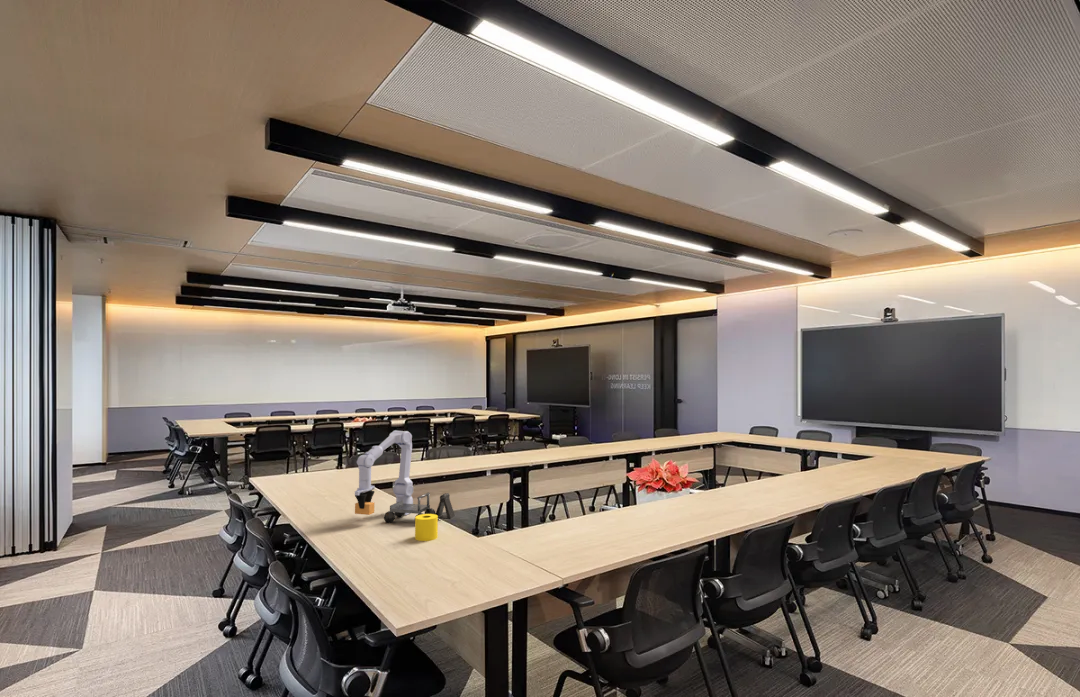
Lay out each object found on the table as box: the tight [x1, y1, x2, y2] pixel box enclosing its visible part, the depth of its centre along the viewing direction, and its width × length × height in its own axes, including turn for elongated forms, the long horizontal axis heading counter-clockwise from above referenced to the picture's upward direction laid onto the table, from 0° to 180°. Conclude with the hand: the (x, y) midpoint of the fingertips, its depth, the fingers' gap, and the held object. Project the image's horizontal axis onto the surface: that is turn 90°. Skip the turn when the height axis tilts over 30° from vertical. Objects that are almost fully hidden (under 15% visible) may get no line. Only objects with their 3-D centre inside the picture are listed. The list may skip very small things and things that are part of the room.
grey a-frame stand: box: [435, 492, 456, 520], centre depth 282 cm, size 9×6×12 cm, turn 78°
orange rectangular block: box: [354, 501, 375, 516], centre depth 269 cm, size 4×8×5 cm, turn 75°
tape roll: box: [414, 513, 439, 542], centre depth 246 cm, size 10×10×9 cm
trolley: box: [383, 492, 436, 524], centre depth 275 cm, size 12×22×14 cm, turn 75°
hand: (364, 507), depth 269 cm, fingers closed on orange rectangular block, 4 cm apart
